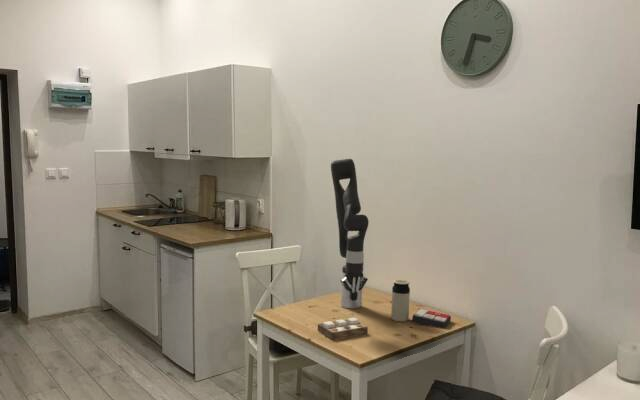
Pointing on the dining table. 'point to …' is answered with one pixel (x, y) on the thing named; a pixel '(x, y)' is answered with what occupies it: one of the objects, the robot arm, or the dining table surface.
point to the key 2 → (352, 321)
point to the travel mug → (400, 300)
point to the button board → (343, 331)
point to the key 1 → (328, 325)
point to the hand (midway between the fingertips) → (353, 300)
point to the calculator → (431, 318)
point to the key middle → (340, 323)
